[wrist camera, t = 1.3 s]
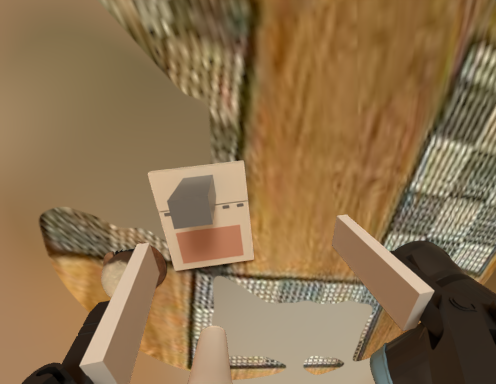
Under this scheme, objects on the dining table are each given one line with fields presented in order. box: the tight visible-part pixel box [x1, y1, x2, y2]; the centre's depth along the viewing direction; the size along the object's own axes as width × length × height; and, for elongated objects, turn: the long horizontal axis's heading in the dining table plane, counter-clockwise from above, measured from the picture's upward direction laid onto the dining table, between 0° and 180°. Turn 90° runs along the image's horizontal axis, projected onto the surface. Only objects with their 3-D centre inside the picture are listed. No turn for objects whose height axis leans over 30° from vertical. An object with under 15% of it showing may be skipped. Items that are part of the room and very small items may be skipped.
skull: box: [101, 241, 166, 298], centre depth 40 cm, size 12×10×10 cm
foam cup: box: [187, 326, 232, 384], centre depth 44 cm, size 10×9×13 cm
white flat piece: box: [159, 200, 254, 271], centre depth 40 cm, size 13×16×2 cm
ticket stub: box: [148, 160, 248, 229], centre depth 31 cm, size 7×16×12 cm, turn 96°
